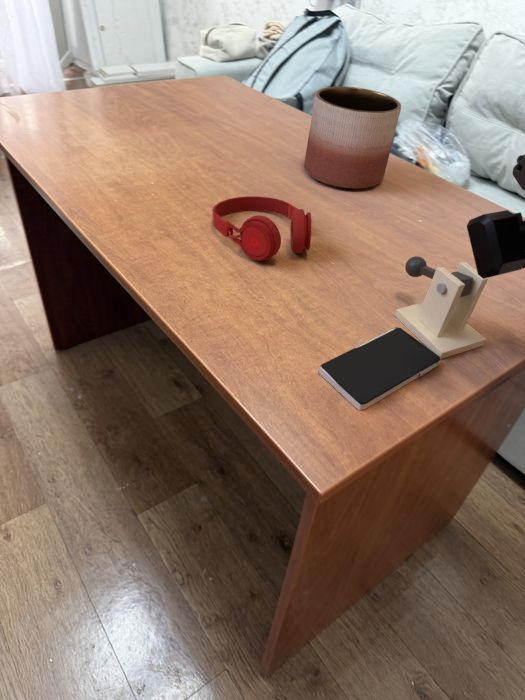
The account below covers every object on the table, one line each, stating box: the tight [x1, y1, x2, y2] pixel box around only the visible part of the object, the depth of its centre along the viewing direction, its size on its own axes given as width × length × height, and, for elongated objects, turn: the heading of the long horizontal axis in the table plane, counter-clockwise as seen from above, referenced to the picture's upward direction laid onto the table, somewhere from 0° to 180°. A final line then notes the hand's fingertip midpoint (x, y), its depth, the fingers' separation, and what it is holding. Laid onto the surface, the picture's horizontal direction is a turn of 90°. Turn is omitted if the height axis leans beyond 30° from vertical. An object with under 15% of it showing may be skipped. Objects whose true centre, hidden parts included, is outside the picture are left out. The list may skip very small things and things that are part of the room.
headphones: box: [212, 195, 312, 261], centre depth 84 cm, size 15×7×20 cm
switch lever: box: [404, 255, 473, 297], centre depth 68 cm, size 11×3×3 cm, turn 26°
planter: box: [303, 85, 402, 190], centre depth 103 cm, size 18×18×16 cm
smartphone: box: [318, 326, 441, 411], centre depth 63 cm, size 8×1×15 cm
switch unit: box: [394, 261, 489, 360], centre depth 67 cm, size 10×8×10 cm
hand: (482, 253), depth 60 cm, fingers closed
